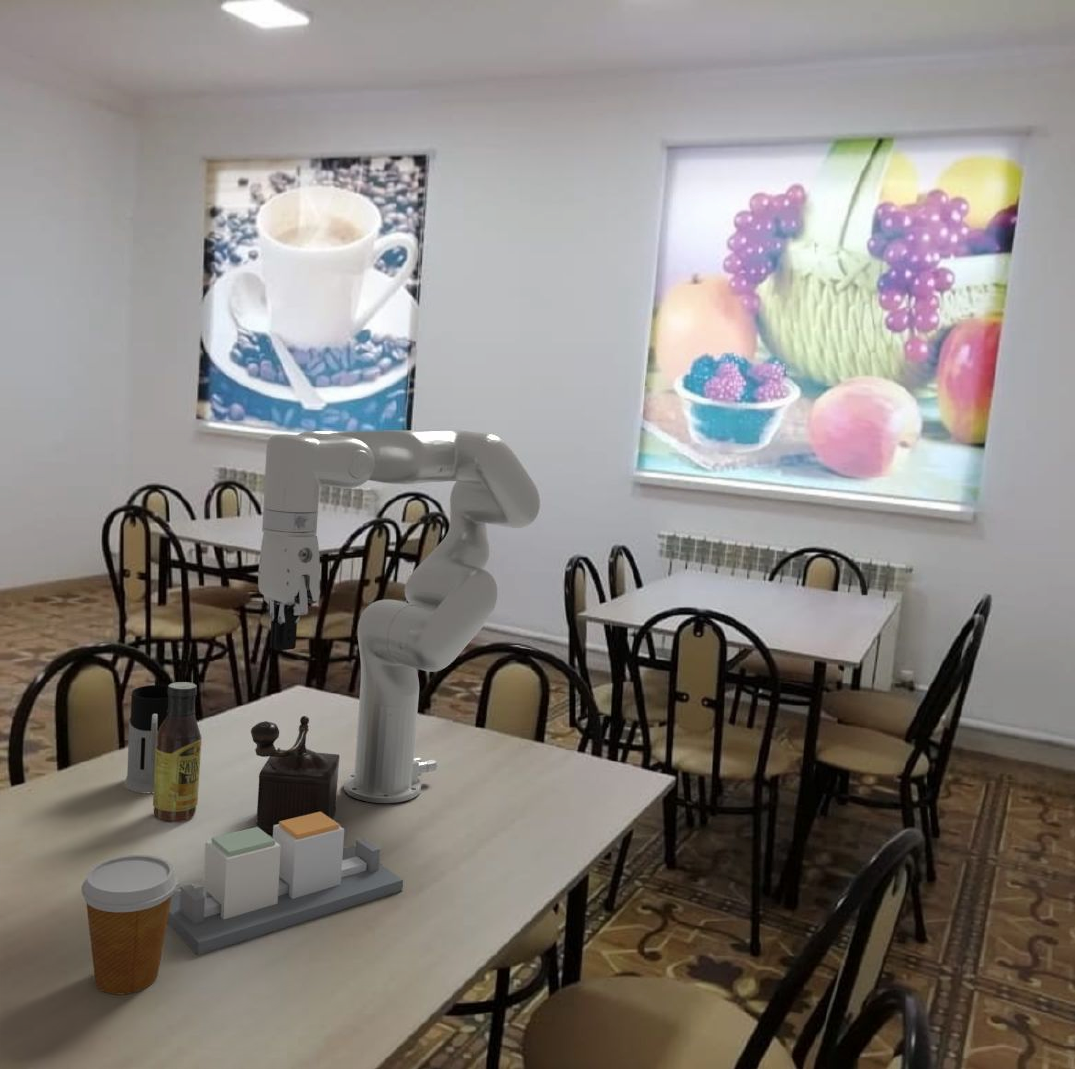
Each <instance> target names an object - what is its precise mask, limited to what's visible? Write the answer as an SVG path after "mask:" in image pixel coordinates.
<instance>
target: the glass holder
mask: <svg viewBox="0 0 1075 1069" xmlns="http://www.w3.org/2000/svg"><path fill="white" fill-rule="evenodd" d="M130 697H131V698H130V699H131V702H130V717H129V721H128V722H129V724H128V742H127V743H128V746H127V748H128V751H127V773H126V774H127V775H126V778H125V780H124V782H123V787H124V788H125V789H126V788H127V790H128V789H129V790H128V791H130V790H131V791H130V792H133V791H135V792H134V793H137V792H146V793H145V794H148V793H147V792H154V779H155V762H156V747H157V742H158V731H159V728H160V726H161V724H162V722H163V721H164V720H165V719H166V717H167V716H168V713H167V710H168V699H169V696H168V685H167V684H166V685H165V684H151V685H144V686H140V687H136V688H134V689H132V690H131V696H130Z"/></svg>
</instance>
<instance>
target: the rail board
mask: <svg viewBox="0 0 1075 1069" xmlns="http://www.w3.org/2000/svg"><path fill="white" fill-rule="evenodd" d="M380 850H381V849H380V848H379V847H378V846H377V845H375V844H373V843H372V842H370V841H369V840H367V839H366V838H364V837H362V838H357V839H356V840H355V845H351V846H347V847H343V858H342V873H341V884H340V885H337V886H333V887H330V888H327V889H323V890H320V891H317V892H313V893H310V894H307V895H303V896H300V897H297V898H293V899H292V898H290V897H289V887H290V885H289V884H288V883H287V882H285V881H284V880H283V879H282V878H279V868H280V851H281V845H279V844H278V843H277V842H275V840H274V839H273V836H269V835H268V834H266V833H265V832H264V831H262V830H261V829H260V828H259V827H257V826H255V827H250V828H246V829H243V830H238V831H233V832H229V833H225V834H221V835H218V836H212V837H211V840H207V841H205V854H204V856H205V857H204V875H203V876H204V877H203V886H199V887H194V885H192V884H191V883H188V884H185V885H181V886H180V891H179V892H176V893H173V894H172V897H171V903H170V909H169V915H168V920H167V925H169V926H170V927H171V929H173V930H174V931H175V933H176V934H178V936H179V937H180V938H181V939H182V940H183V941H184V942H185V943H186V944H187V945H188V946H189V947H190V948H191V950H192V951H193V952H195V954H196V955H197V956H200V955H202V954H206V953H208V952H213V951H216V950H219V949H221V948H222V949H223V948H225V947H229V946H232V945H234V944H238V943H240V942H245V941H247V940H251V939H253V938H257V937H260V936H263V935H266V934H270V933H273V932H275V931H279V930H282V929H285V928H288V927H291V926H295V925H298V924H301V923H304V922H307V921H311V920H314V919H317V918H320V917H323V916H325V915H330V914H332V913H336V912H339V911H343V910H345V909H348V908H352V907H354V906H355V907H356V906H358V905H361V904H365V903H367V902H371V901H373V900H377V899H380V898H383V897H387V896H389V894H390V895H393V894H396V893H399V892H402V891H403V883H404V879H403V878H401V877H400V876H398V875H397V874H396V873H394V872H392V871H391V870H390V869H388V868H386V867H385V866H383V865H382V864H381V863H380V856H381V855H380ZM401 890H402V891H401ZM398 891H399V892H398Z"/></svg>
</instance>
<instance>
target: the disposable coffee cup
mask: <svg viewBox="0 0 1075 1069" xmlns="http://www.w3.org/2000/svg"><path fill="white" fill-rule="evenodd" d="M178 881H179V879H178V876H177V874H176V873H175V870H174V867H173V865H172V863H171V862H170V861H169V860H166V859H164V858H163V857H159V856H155V855H150V854H129V855H121V856H116V857H113V858H108V859H106V860H103V861H101V862H99V863H97V864H96V865H94V866H92V868H90V870H89V871H88V872H87V874H86V877H85V881H83V883H82V885H81V895H82V897H83V898H84V901H85V903H86V909H87V910H86V911H87V919H88V920H87V921H88V929H89V939H90V946H91V957H92V966H93V975H94V977H93V978H94V984H95V986H96V988H97V987H98V988H99V989H98V988H97V989H98V990H99V991H101V990H102V991H101V992H104V993H107V994H110V993H111V994H113V995H126V994H133V993H136V991H137V992H140V991H142V990H144V989H146V987H147V988H148V987H150V986H151V985H152V984H153V983H155V981H156V980H157V978H158V976H159V970H160V963H161V957H162V952H163V948H164V942H165V936H166V931H167V926H168V923H167V920H168V915H169V909H170V903H171V897H172V894H174V893H175V889H177V886H178ZM139 990H140V991H139Z"/></svg>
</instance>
